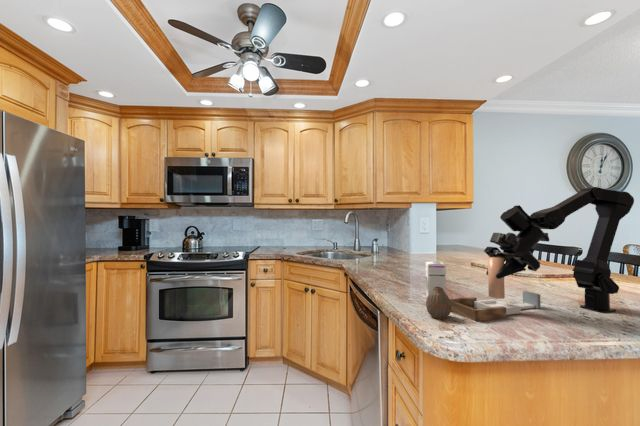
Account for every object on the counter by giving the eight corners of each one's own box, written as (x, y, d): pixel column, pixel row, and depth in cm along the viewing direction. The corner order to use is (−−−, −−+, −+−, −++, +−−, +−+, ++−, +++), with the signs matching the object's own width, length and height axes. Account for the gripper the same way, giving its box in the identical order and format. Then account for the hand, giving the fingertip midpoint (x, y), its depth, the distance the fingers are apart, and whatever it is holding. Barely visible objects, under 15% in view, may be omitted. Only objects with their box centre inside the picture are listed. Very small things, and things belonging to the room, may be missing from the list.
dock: (473, 305, 96) (473, 297, 96) (506, 317, 84) (506, 307, 84) (445, 308, 93) (445, 299, 93) (475, 321, 81) (474, 310, 81)
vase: (451, 315, 86) (450, 286, 87) (451, 322, 80) (450, 291, 80) (427, 312, 89) (426, 284, 90) (425, 318, 83) (425, 288, 83)
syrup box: (447, 308, 93) (446, 264, 93) (428, 307, 94) (427, 263, 94) (443, 303, 98) (442, 261, 99) (425, 302, 100) (424, 261, 100)
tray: (520, 302, 100) (519, 289, 100) (547, 310, 91) (546, 296, 91) (473, 307, 94) (473, 293, 94) (497, 315, 85) (497, 300, 85)
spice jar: (501, 295, 93) (500, 257, 93) (507, 299, 88) (506, 258, 89) (486, 294, 94) (485, 256, 94) (491, 298, 89) (491, 258, 90)
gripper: (488, 223, 101) (458, 255, 100) (529, 224, 83) (493, 262, 82) (510, 245, 101) (481, 277, 100) (556, 251, 83) (520, 290, 82)
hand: (492, 276), depth 91 cm, fingers closed on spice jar, 4 cm apart
